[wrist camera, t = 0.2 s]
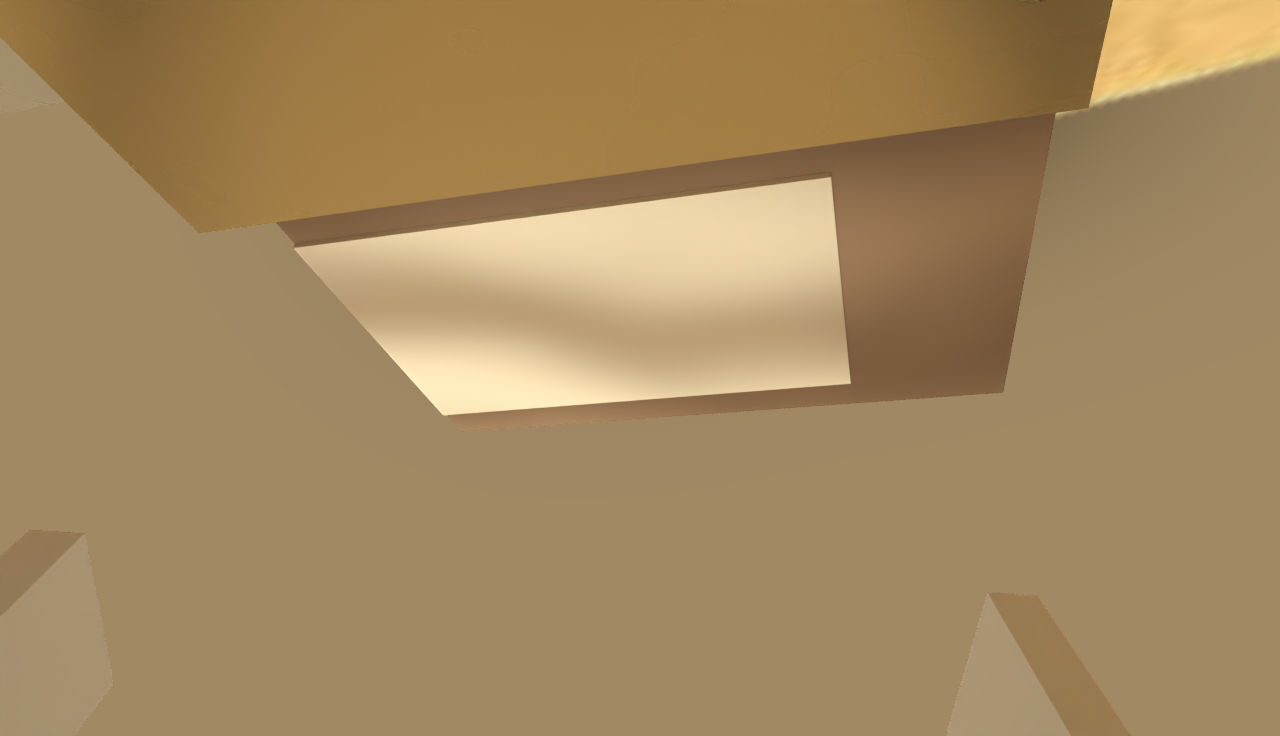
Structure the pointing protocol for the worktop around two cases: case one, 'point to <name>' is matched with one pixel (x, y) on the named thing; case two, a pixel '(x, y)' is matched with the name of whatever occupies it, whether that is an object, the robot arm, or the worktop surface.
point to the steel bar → (516, 87)
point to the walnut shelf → (704, 281)
